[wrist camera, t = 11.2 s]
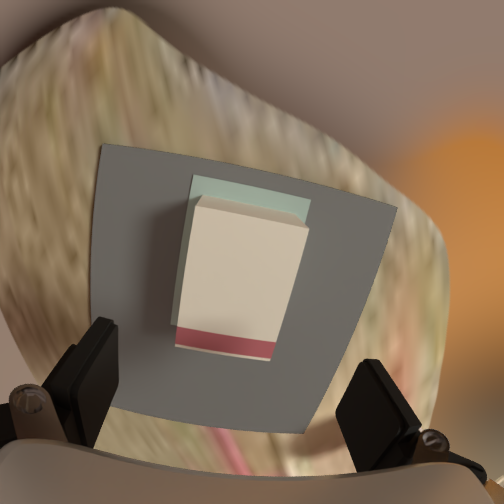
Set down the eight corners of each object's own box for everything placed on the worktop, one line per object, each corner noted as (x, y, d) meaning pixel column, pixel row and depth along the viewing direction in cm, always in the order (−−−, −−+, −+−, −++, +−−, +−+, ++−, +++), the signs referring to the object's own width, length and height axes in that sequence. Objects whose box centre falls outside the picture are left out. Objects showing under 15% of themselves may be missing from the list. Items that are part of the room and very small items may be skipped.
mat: (302, 430, 25) (303, 434, 25) (100, 399, 23) (99, 403, 22) (394, 206, 19) (398, 208, 18) (105, 143, 16) (101, 143, 16)
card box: (202, 194, 17) (195, 205, 14) (294, 213, 18) (309, 228, 15) (183, 314, 20) (174, 346, 16) (264, 328, 20) (269, 361, 17)
